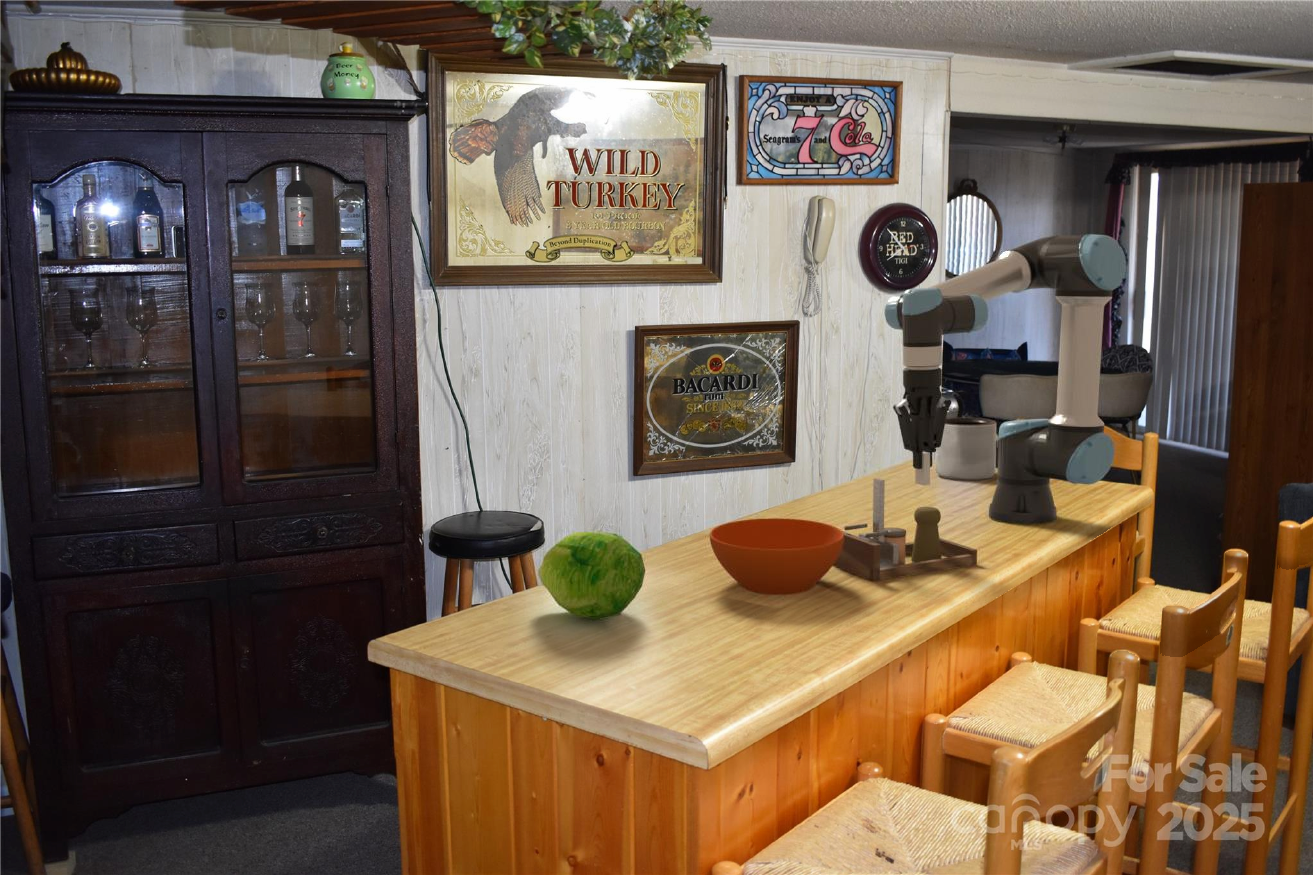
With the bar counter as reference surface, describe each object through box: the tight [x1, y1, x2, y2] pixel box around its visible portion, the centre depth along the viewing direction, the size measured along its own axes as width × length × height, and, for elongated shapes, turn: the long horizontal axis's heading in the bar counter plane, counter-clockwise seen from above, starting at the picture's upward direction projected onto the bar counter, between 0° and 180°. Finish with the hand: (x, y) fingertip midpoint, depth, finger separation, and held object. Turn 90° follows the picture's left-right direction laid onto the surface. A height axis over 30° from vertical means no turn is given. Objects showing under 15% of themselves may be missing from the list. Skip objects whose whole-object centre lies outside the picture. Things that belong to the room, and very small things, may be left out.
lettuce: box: [537, 531, 646, 620], centre depth 199 cm, size 17×20×15 cm
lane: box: [833, 523, 978, 582], centre depth 229 cm, size 25×14×8 cm, turn 115°
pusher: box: [858, 478, 899, 568], centre depth 225 cm, size 1×11×18 cm, turn 25°
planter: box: [935, 417, 997, 481], centre depth 319 cm, size 16×16×16 cm
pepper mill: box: [910, 506, 943, 563], centre depth 231 cm, size 6×6×11 cm
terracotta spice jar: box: [884, 526, 907, 565], centre depth 228 cm, size 5×5×7 cm
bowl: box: [709, 517, 844, 596], centre depth 216 cm, size 25×25×10 cm
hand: (922, 483), depth 231 cm, fingers closed
